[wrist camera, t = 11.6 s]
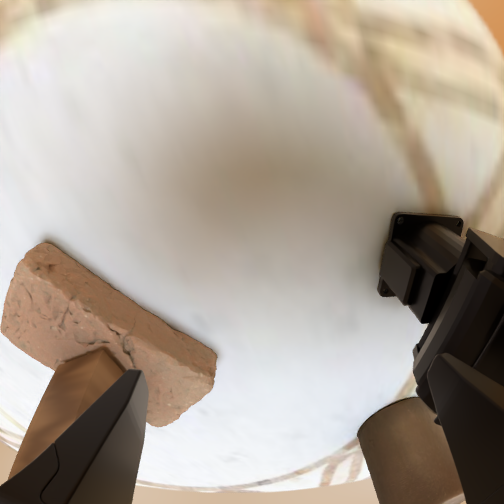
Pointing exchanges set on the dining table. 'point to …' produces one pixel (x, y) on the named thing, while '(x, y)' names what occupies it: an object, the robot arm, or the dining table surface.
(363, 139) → the dining table surface
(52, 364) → the brick
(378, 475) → the pillar candle
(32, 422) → the walnut block
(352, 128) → the dining table surface
